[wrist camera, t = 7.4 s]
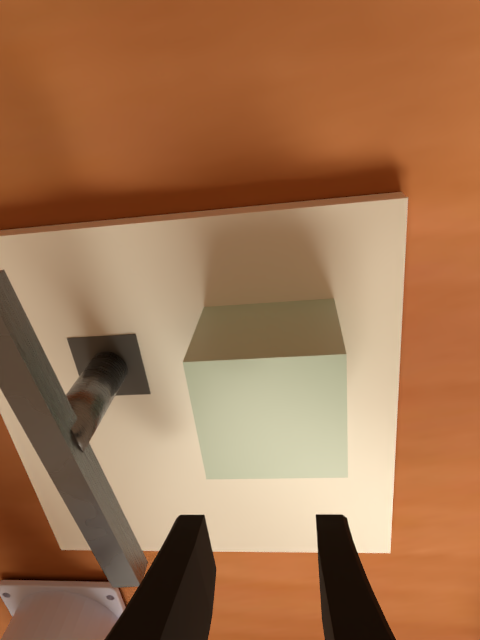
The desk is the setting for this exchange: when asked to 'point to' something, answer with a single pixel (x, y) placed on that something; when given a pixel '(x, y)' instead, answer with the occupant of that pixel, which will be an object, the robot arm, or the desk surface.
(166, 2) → the desk surface
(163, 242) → the base plate
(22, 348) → the t key
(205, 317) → the pale mint cube
